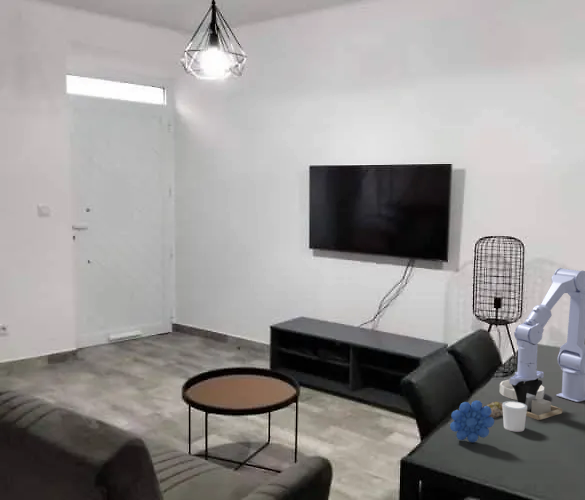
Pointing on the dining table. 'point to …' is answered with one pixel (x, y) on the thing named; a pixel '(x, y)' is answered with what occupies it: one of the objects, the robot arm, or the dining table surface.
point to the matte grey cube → (529, 400)
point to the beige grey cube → (540, 406)
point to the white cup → (514, 415)
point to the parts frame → (545, 415)
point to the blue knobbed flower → (471, 421)
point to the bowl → (509, 391)
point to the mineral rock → (495, 409)
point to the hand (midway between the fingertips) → (526, 402)
